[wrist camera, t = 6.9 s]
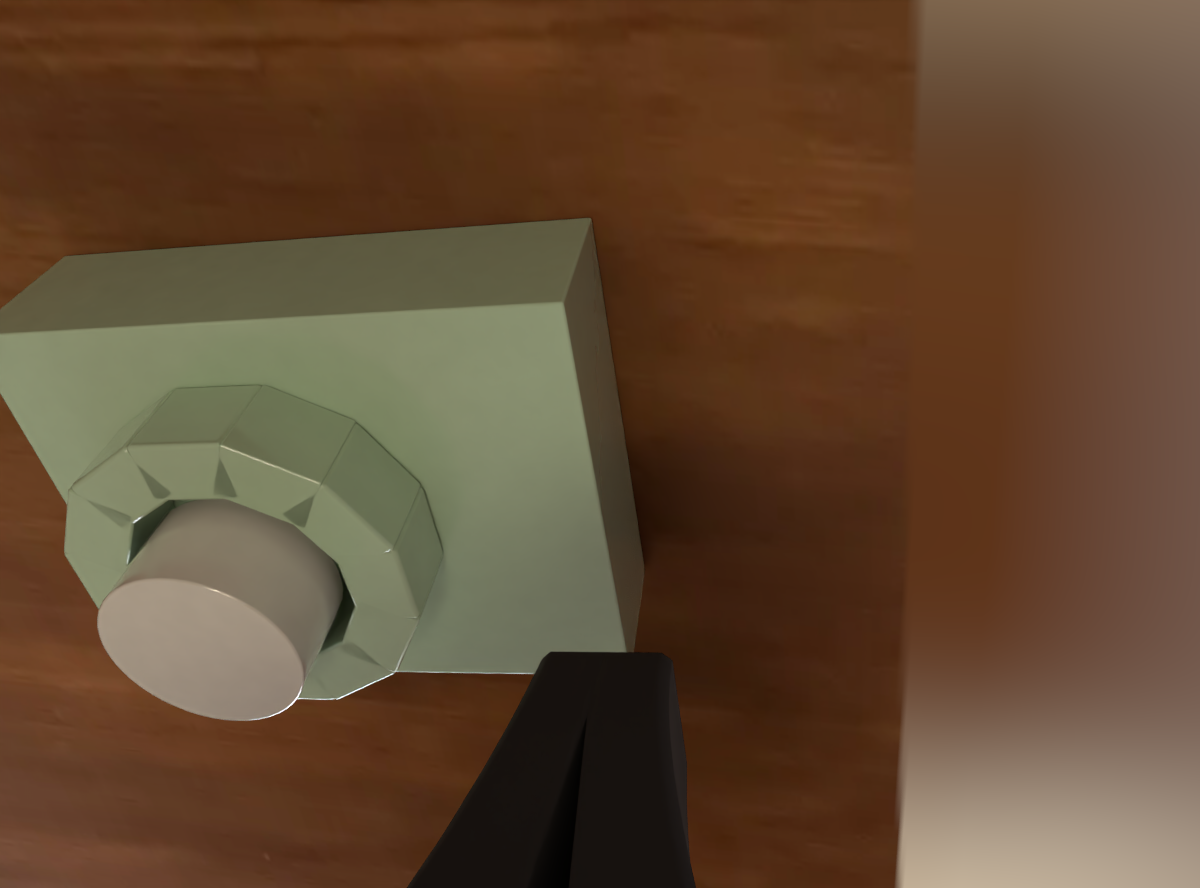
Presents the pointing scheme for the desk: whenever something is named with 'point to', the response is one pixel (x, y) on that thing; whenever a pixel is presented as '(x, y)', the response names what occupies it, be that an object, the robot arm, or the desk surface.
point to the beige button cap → (222, 611)
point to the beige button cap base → (354, 429)
